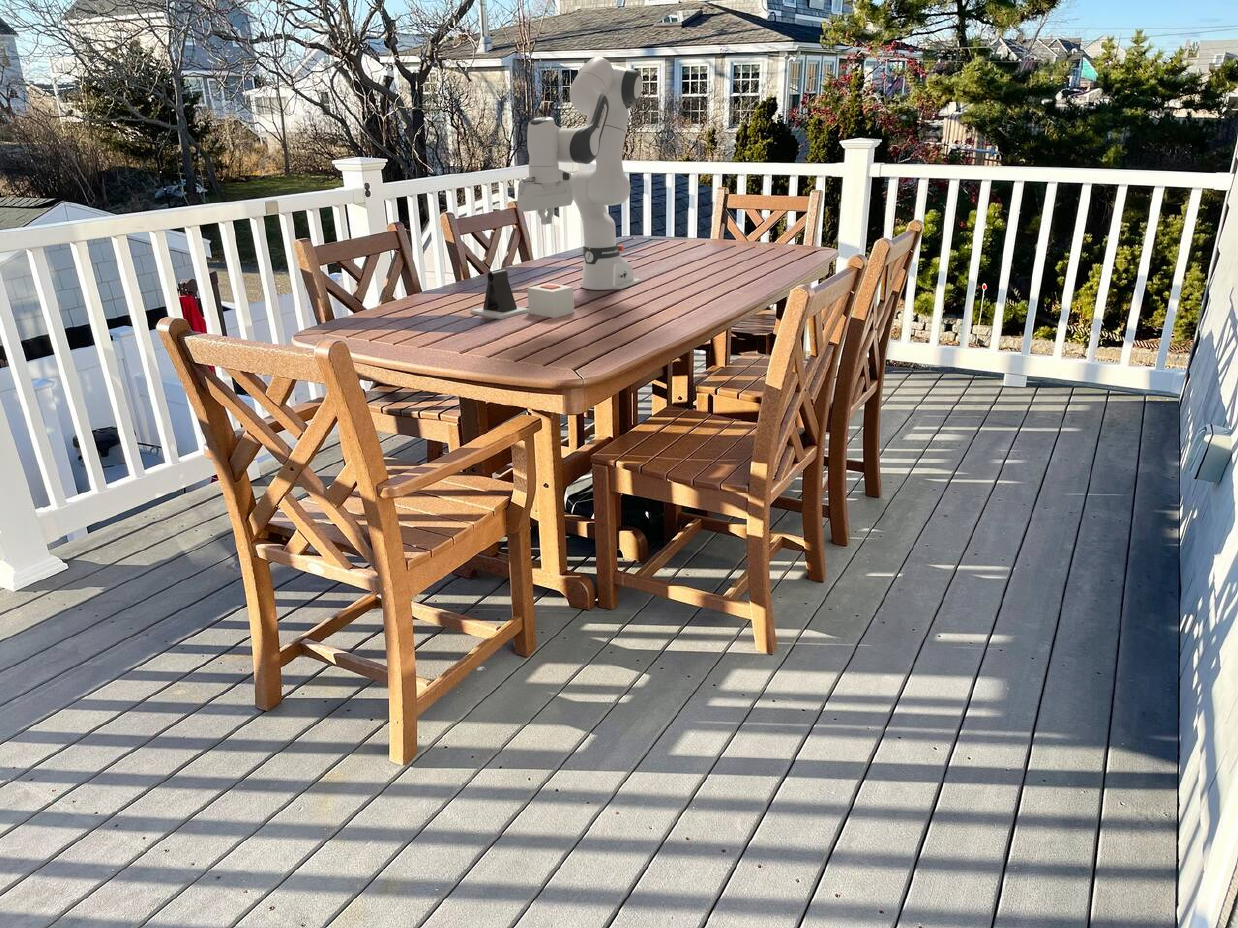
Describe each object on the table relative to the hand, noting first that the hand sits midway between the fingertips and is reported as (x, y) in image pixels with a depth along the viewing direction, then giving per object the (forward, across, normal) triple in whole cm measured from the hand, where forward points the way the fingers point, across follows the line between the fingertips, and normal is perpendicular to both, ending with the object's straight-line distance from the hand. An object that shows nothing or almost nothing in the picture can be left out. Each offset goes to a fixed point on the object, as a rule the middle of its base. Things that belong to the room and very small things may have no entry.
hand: (546, 224), depth 270 cm
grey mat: (+27, -9, +14) cm, 32 cm away
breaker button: (+22, 0, 0) cm, 22 cm away
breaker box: (+27, 0, 0) cm, 27 cm away
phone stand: (+26, -9, +14) cm, 31 cm away
